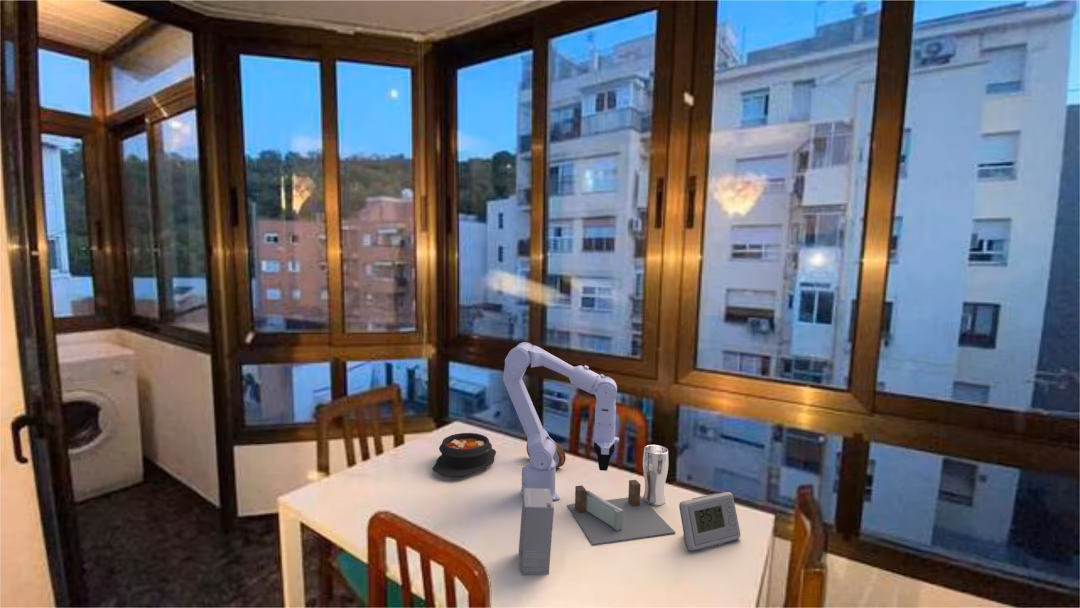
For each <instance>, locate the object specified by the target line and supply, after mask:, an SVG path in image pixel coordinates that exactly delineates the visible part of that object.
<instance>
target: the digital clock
mask: <svg viewBox="0 0 1080 608" xmlns="http://www.w3.org/2000/svg"><path fill="white" fill-rule="evenodd" d="M678 506H679V513H680V518H681V525H682V531H683V537H684V538H683V539H684V543H685V547H686V549H687V550H688V551H690V552H693V551H697V550H700V549H702V550H705V549H709V548H713V547H716V545H717V546H720V545H719V544H721V545H723V544H722V543H724V544H728V543H730V542H731V541H735V540H738V539H740V538H741V530H740V524H739V519H738V515H737V509H736V504H735V499H734V495H733V494H732V492H730V491H725V492H724V491H723V492H721V493H720V492H719V493H718V492H717V493H712V494H706V495H702V496H698V497H693V498H692V499H687V500H683V501H681V502H679V504H678ZM727 542H728V543H727ZM712 546H713V547H712ZM704 548H705V549H704Z"/></svg>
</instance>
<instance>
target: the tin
mask: <svg viewBox="0 0 1080 608" xmlns="http://www.w3.org/2000/svg"><path fill="white" fill-rule="evenodd" d="M554 442H555V441H554ZM555 444H556V448H557V449H556V453H555V454H554V456H553V459H554V461H555V463H556V470H557V469H559V468H561V467H563V465H565V463H566V459H567V458H566V453H565V450H564V448H563V447H562V446H561V445H560V443H558V442H555ZM526 453H527V456H528V458H530V452H529V450H528V443H527V442H526Z"/></svg>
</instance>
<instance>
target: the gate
mask: <svg viewBox="0 0 1080 608" xmlns="http://www.w3.org/2000/svg"><path fill="white" fill-rule="evenodd" d="M605 500H606V499H603V498H602V497H600V496H598V495H596V494H595V493H593V492H591V491H590V490H586V511H588V512H589V513H591V514H593V515H594V516H596V517H597V518H599V519H601V520H602V521H604V522H606V523H607V524H609V525H610V526H612V527H614V528H613V529H615V530H620V529H622V528H623V509H621V508H618V507H616V506H614V505H613V504H611V503H609V502H607V501H605Z"/></svg>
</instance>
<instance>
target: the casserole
mask: <svg viewBox="0 0 1080 608" xmlns="http://www.w3.org/2000/svg"><path fill="white" fill-rule="evenodd" d="M489 439H490V438H489V437H487V436H486V435H483V434H480V433H474V432H460V433H455V434H451V435H449V436H446V437H444V438H443V439H442V441H441V444H440V445H439V447H438V450H439V452H440V453H441V455H439V456H438V457H437V459H436V462H435V463H434V465H433V466H432V471H433V472H434V473H436V474H439V475H440V476H441V475H442V476H445V477H450V478H451V477H454V478H455V477H457V478H459V477H464V476H467V475H469V474H471V473H475V472H478V471H483V470H486V469H487V468H489V467H490V466H492V464H494V462H495V456H496V453H497V451H496V450H495V449H494V448H493V445H492V443H491V442H490V440H489Z"/></svg>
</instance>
